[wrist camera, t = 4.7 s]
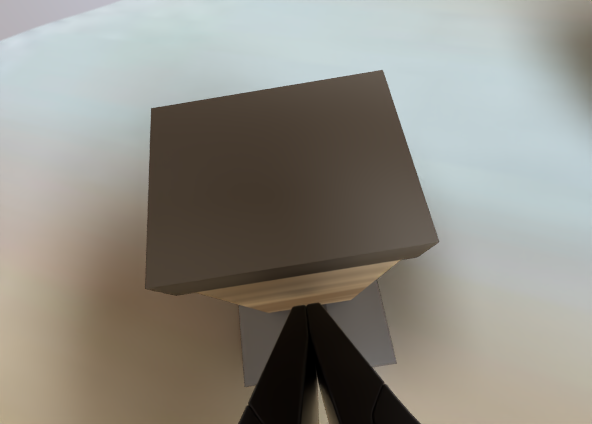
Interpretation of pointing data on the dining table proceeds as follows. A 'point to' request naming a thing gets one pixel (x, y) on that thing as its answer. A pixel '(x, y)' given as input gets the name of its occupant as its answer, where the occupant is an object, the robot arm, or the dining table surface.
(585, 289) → the dining table surface
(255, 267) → the lever
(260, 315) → the fader track
